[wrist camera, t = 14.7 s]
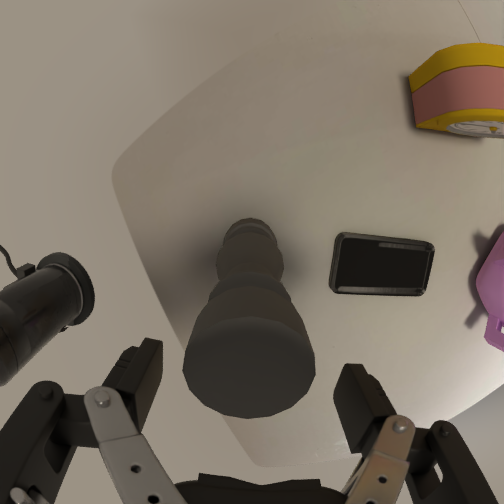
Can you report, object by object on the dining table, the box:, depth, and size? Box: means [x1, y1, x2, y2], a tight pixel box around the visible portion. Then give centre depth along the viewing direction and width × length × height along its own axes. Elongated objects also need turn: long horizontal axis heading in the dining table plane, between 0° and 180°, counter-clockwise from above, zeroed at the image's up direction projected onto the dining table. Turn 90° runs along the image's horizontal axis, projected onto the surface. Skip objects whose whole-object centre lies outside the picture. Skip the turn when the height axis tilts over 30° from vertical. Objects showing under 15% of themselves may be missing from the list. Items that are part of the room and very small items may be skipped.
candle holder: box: [182, 218, 316, 419], centre depth 24 cm, size 6×6×25 cm
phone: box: [329, 232, 435, 296], centre depth 36 cm, size 8×1×15 cm
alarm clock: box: [409, 43, 504, 139], centre depth 22 cm, size 15×8×18 cm, turn 94°
